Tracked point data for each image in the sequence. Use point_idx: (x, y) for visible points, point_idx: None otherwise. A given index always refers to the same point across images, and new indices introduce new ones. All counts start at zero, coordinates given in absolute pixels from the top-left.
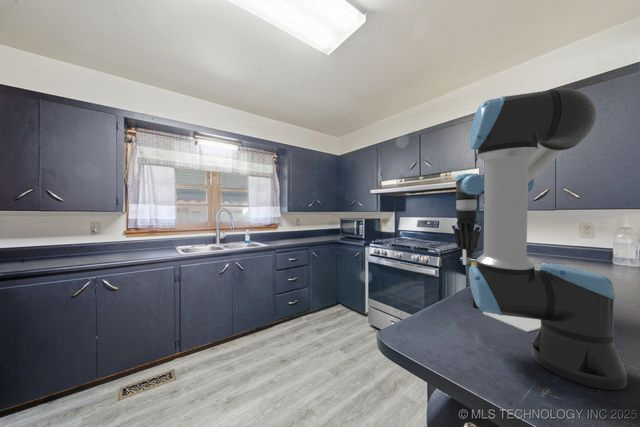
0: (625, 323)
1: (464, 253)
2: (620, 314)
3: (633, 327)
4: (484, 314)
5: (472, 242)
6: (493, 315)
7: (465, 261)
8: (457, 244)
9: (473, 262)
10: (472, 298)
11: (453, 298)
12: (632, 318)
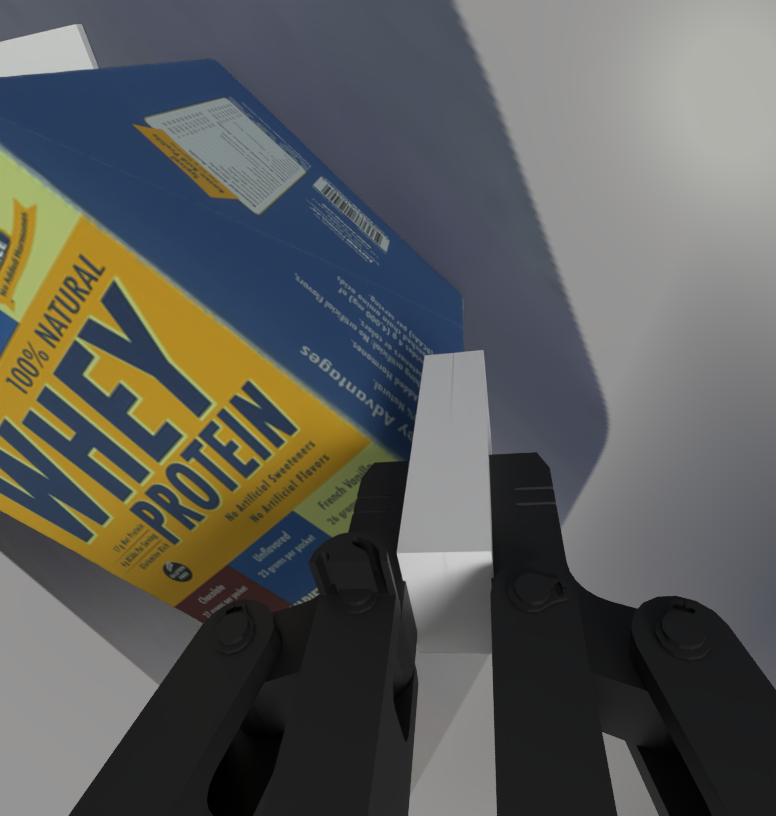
0: (60, 586)
1: (441, 482)
2: (142, 646)
3: (27, 572)
4: (66, 27)
5: (128, 797)
6: (30, 73)
7: (429, 386)
8: (722, 669)
9: (271, 399)
10: (184, 62)
11: (445, 43)
12: (109, 640)
